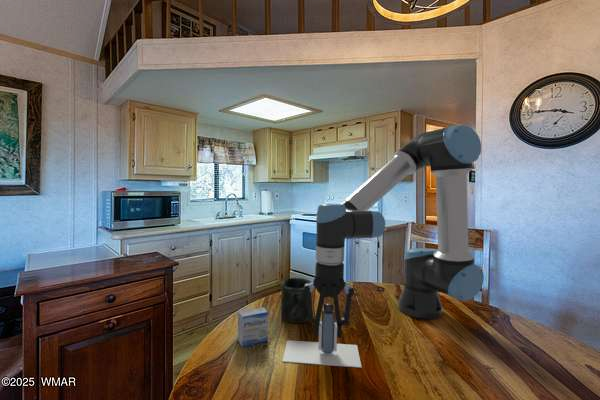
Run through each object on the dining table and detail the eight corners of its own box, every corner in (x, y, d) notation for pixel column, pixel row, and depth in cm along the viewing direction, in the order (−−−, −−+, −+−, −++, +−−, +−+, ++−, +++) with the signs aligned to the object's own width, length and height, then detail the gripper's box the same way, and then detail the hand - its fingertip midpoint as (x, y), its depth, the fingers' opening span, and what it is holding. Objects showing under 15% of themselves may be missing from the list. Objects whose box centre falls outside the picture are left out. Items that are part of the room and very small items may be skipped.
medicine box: (241, 347, 78) (241, 317, 78) (237, 340, 82) (237, 310, 82) (268, 341, 82) (268, 312, 82) (263, 334, 86) (263, 306, 86)
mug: (310, 310, 104) (311, 278, 103) (312, 330, 89) (313, 292, 88) (281, 309, 104) (281, 277, 103) (277, 329, 89) (278, 291, 89)
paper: (356, 345, 81) (356, 345, 81) (361, 367, 71) (361, 366, 71) (287, 340, 82) (287, 340, 82) (282, 361, 72) (282, 361, 72)
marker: (333, 346, 78) (334, 302, 77) (333, 353, 74) (335, 307, 74) (321, 345, 78) (322, 301, 78) (320, 353, 75) (322, 306, 74)
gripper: (297, 264, 72) (295, 353, 73) (362, 267, 71) (359, 358, 72) (300, 257, 80) (298, 338, 81) (359, 259, 78) (356, 342, 79)
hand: (327, 347), depth 76 cm, fingers closed on marker, 3 cm apart
